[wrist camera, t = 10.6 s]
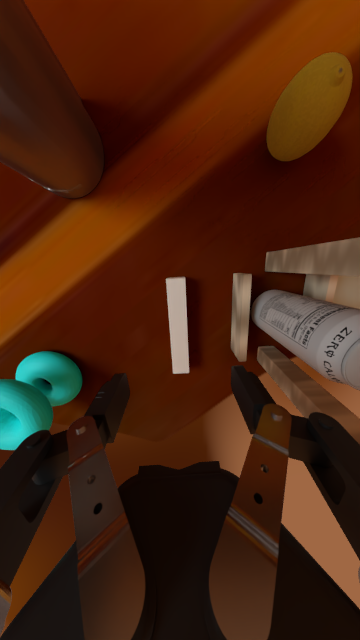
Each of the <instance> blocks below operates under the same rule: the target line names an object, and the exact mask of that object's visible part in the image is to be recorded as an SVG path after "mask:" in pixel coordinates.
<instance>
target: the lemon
mask: <svg viewBox="0 0 360 640" xmlns="http://www.w3.org/2000/svg"><path fill="white" fill-rule="evenodd" d="M351 86H352V69H351V66H350V63H349V61H348V60H347V58H346V57H345V56H343V55H342V54H340V53H335V52H331V53H326V54H323V55H321V56H319V57H317V58H315V59H313V60H312V61H311V62H309V63H308V64H307V65H306V66H305V67H304V68H302V69H301V70H300V71H299V72H298V73H297V74H296V76H295V77H294V78H293V79H292V80H291V82H290V83H289V84H288V86H287V87H286V88H285V90H284V91H283V93H282V94H281V96H280V97H279V99H278V101H277V103H276V105H275V107H274V109H273V112H272V114H271V117H270V120H269V124H268V127H267V137H266V139H267V147H268V149H269V152H270V153H271V155H272V156H273V157H274V158H275V159H277V160H280V161H291V160H294V159H297V158H299V157H301V156H303V155H304V154H306V153H308V152H309V151H310V150H312V149H313V148H314V147H315V146H316V145H317V144H318V143H319V142H320V141H321V140H322V139H323V138H324V137H325V136H326V135H327V134H328V132H329V131H330V130H331V128H332V127H333V125H334V124H335V123H336V121H337V120H338V118H339V117H340V115H341V113H342V111H343V109H344V107H345V105H346V103H347V100H348V98H349V94H350V91H351Z"/></svg>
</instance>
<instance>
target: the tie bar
mask: <svg viewBox="0 0 360 640" xmlns="http://www.w3.org/2000/svg"><path fill="white" fill-rule="evenodd" d="M166 286H167V299H168V312H169V325H170V338H171V352H172V365H173V374H177V373H189V356H188V332H187V307H186V283H185V277H169V278H166Z"/></svg>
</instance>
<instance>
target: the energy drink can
mask: <svg viewBox="0 0 360 640" xmlns="http://www.w3.org/2000/svg"><path fill="white" fill-rule="evenodd" d="M251 317H252V320H253V322H254V323H255V324H256V325H257V326H258V327H259V328H261V329H262V330H263V331H265V332H266V333H267V334H269V335H270V336H271V337H272V338H274V339H275V340H276V341H278V342H279V343H280V344H282V345H283V346H284V347H286V348H287V349H288V350H290V351H291V352H292V353H293V354H295V355H296V356H297V357H299V358H300V359H301V360H303V361H304V362H305V363H307V364H308V365H309V366H311V367H312V368H313V369H314V370H316V371H317V372H318V373H320V374H321V375H322V376H324V377H325V378H327V379H329V380H331V381H334V382H337V383H342V384H348V385H350V386H351V387H353V388H355V389H357V390H360V309H357V308H353V307H349V306H345V305H340V304H336V303H332V302H328V301H323V300H319V299H315V298H311V297H306V296H302V295H298V294H294V293H289V292H285V291H281V290H269V291H266V292H264V293H262V294H261V295H260V296H258V297H257V298H256V300H255V301H254V303H253V305H252V308H251Z"/></svg>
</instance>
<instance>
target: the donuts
mask: <svg viewBox="0 0 360 640" xmlns="http://www.w3.org/2000/svg"><path fill="white" fill-rule="evenodd" d="M43 379H45V380H47V381H48V382H50V384H51V385H50V384H48V383H46V382H45V381H44V380H43ZM81 387H82V374H81V371H80V369H79V368H78V366H77V365H76V364H75V363H74V362H73V361H72V360H71V359H70V358H68V357H66V356H65V355H62V354H60V353H56V352H51V351H43V352H37V353H34V354H32V355H30V356H28V357H26V358H25V359H24V360H23V361H22V362H21V363H20V365H19V366H18V368H17V371H16V380H12V379H0V449H3V450H16V449H17V447H18V446H19V445H20V444H21V443H22V442H23V441H24V440H25V439H26V438H27V437H28V436H30V435H31V434H33V433H35V432H37V431H40V430H49V429H50V426H51V424H52V420H53V410H52V406H59V405H63V404H66V403H68V402H70V401H71V400H72V399H74V398H75V397H76V396H77V395H78V393H79V392H80V390H81Z"/></svg>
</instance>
